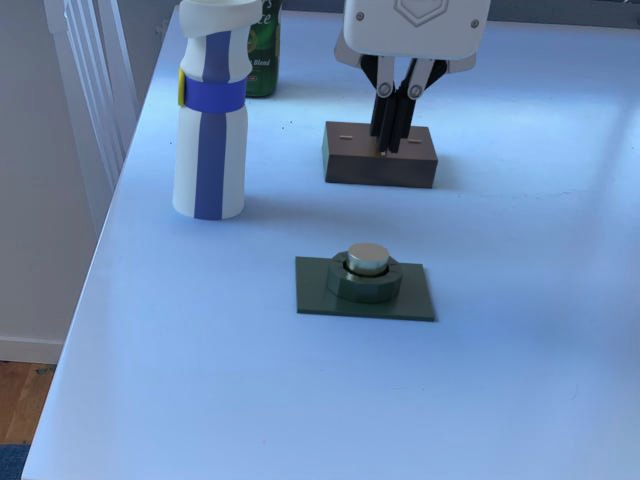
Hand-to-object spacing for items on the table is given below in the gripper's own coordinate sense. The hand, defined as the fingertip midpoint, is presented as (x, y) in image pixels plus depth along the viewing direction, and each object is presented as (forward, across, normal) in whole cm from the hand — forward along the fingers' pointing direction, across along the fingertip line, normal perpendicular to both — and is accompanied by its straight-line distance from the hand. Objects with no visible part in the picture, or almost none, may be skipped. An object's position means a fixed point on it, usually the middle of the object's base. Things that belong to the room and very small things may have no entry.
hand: (386, 146), depth 77 cm
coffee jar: (+14, -12, +57) cm, 60 cm away
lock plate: (+14, +4, +33) cm, 36 cm away
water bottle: (+14, -15, +20) cm, 29 cm away
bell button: (+11, 0, 0) cm, 11 cm away
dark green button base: (+14, 0, 0) cm, 14 cm away
